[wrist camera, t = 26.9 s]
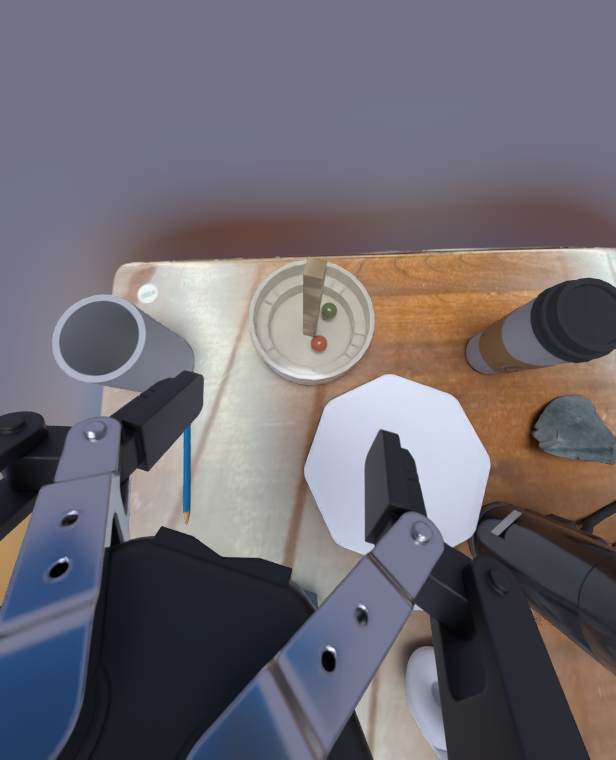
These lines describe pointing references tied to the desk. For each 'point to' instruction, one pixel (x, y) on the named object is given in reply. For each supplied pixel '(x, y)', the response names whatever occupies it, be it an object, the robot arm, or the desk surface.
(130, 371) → the cup
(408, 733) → the desk surface
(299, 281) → the bowl
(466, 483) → the plate
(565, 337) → the coffee cup
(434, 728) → the headphones
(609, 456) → the stone
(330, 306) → the bead olive
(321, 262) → the stick
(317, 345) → the bead terracotta
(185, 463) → the pencil
